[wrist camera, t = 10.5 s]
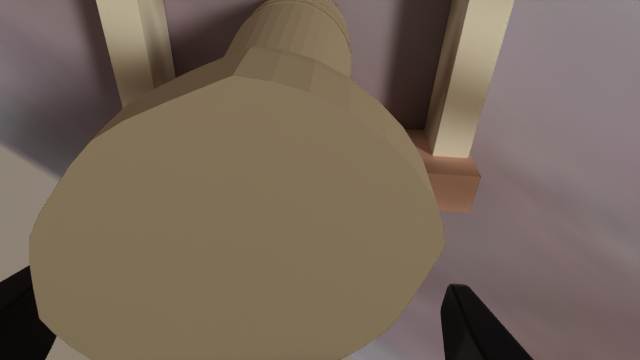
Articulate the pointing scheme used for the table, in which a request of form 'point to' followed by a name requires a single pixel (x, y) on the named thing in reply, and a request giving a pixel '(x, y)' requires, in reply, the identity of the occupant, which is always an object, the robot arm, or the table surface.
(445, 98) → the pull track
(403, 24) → the table surface
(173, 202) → the handle
